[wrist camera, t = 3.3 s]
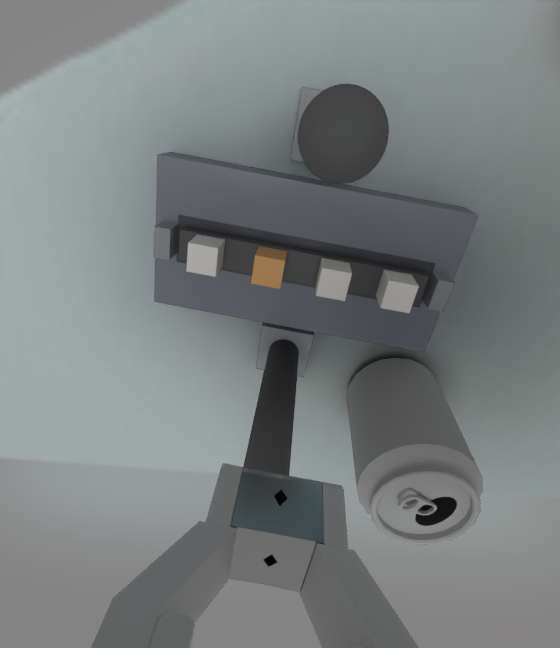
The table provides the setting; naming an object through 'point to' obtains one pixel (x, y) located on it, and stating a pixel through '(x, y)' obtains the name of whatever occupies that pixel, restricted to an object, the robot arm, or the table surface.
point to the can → (410, 454)
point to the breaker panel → (305, 247)
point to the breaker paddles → (301, 268)
